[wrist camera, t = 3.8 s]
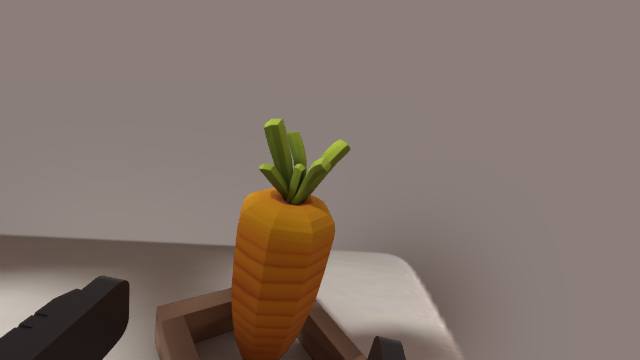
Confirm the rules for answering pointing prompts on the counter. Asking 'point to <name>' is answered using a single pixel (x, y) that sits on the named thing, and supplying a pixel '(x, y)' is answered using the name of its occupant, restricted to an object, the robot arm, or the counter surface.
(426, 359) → the counter surface
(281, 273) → the carrot
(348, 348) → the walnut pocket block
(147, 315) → the counter surface
